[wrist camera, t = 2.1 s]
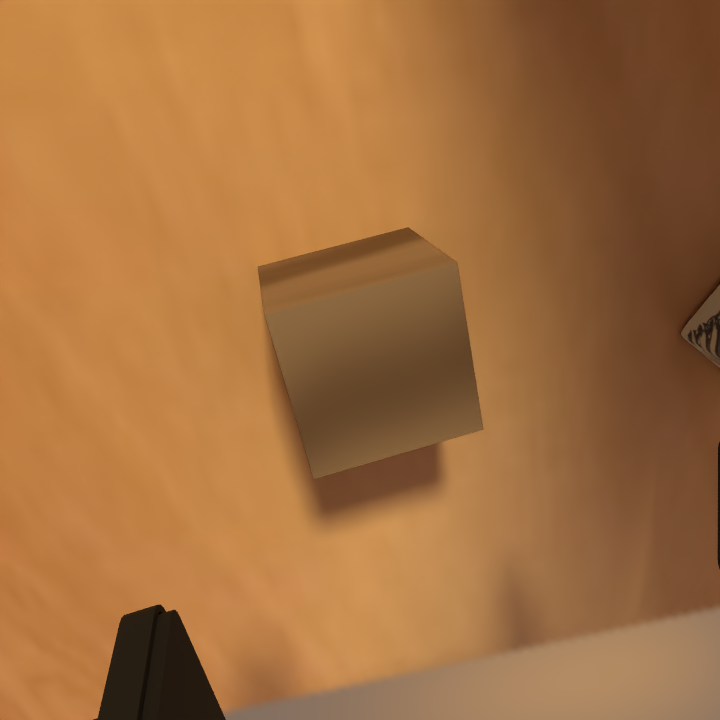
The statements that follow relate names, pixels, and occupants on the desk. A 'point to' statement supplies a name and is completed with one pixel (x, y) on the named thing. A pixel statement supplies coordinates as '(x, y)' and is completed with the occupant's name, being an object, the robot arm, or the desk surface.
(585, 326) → the desk surface
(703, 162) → the desk surface
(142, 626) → the robot arm
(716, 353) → the box
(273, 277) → the walnut cube
